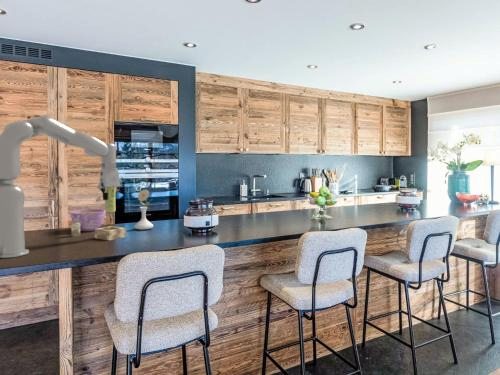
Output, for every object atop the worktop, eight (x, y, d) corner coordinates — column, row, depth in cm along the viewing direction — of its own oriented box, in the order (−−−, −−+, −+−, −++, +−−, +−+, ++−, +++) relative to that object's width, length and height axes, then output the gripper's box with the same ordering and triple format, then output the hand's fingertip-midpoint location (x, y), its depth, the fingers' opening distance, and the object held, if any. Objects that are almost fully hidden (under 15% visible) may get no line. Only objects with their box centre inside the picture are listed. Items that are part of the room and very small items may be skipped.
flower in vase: (131, 228, 222) (130, 189, 220) (148, 226, 229) (147, 188, 228) (140, 231, 212) (139, 190, 210) (157, 229, 220) (157, 189, 218)
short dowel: (74, 236, 197) (74, 224, 197) (69, 236, 200) (69, 223, 199) (82, 235, 201) (81, 223, 201) (77, 234, 203) (76, 222, 203)
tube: (109, 212, 191) (107, 176, 190) (102, 212, 194) (101, 176, 192) (117, 211, 196) (116, 176, 195) (111, 210, 199) (110, 175, 197)
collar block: (109, 240, 188) (109, 231, 188) (94, 238, 194) (94, 229, 194) (126, 236, 198) (125, 227, 197) (111, 234, 204) (111, 225, 204)
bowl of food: (69, 234, 205) (68, 214, 204) (71, 228, 223) (70, 210, 223) (106, 231, 213) (106, 212, 213) (105, 226, 232) (105, 208, 231)
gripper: (99, 166, 184) (101, 201, 186) (126, 166, 199) (127, 198, 200) (90, 166, 188) (91, 200, 189) (117, 166, 203) (118, 197, 204)
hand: (110, 199), depth 195 cm, fingers closed on tube, 5 cm apart
